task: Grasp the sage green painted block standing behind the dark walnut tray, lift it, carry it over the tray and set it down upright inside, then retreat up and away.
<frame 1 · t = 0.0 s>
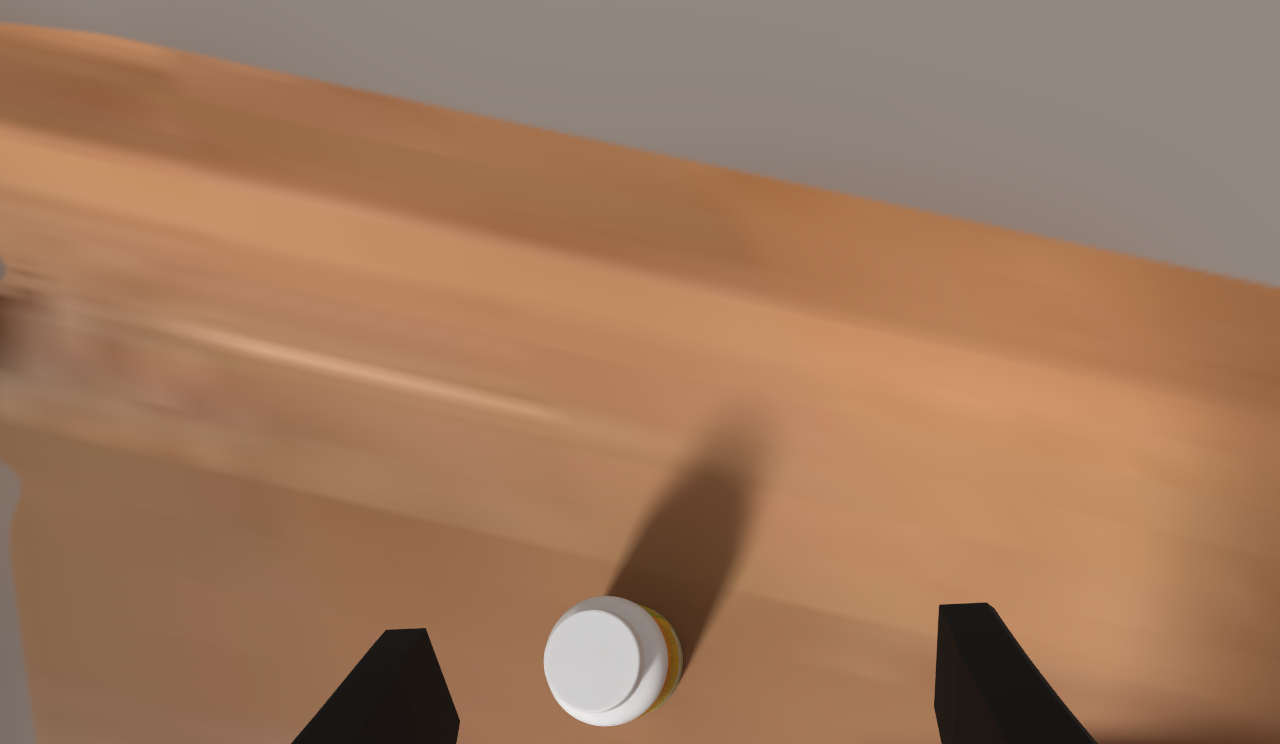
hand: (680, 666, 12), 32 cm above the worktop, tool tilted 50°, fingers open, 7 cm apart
supplement bottle: (631, 659, 43), on the worktop
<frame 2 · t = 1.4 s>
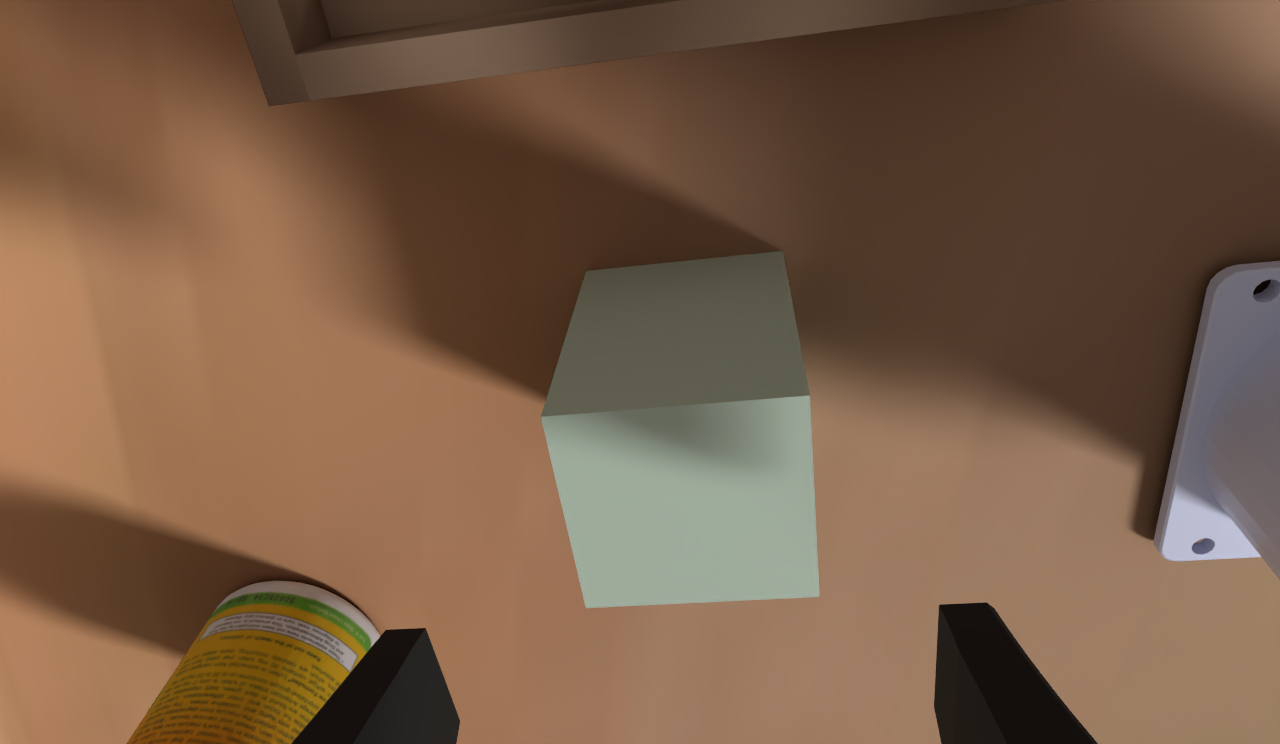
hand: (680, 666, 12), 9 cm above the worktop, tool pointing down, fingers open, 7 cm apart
sage block: (693, 346, 20), on the worktop
supplement bottle: (306, 633, 26), on the worktop
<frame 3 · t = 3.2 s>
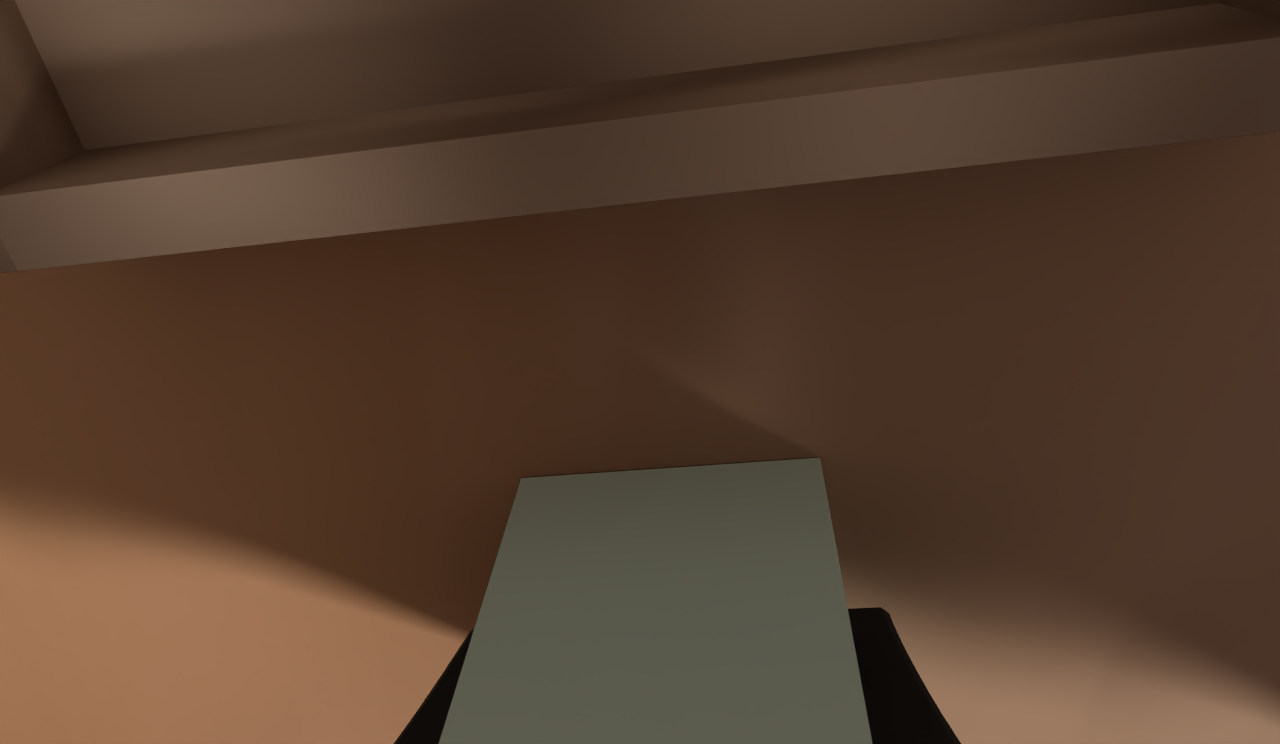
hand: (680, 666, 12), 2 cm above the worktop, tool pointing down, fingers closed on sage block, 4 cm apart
sage block: (684, 579, 14), on the worktop, touching gripper
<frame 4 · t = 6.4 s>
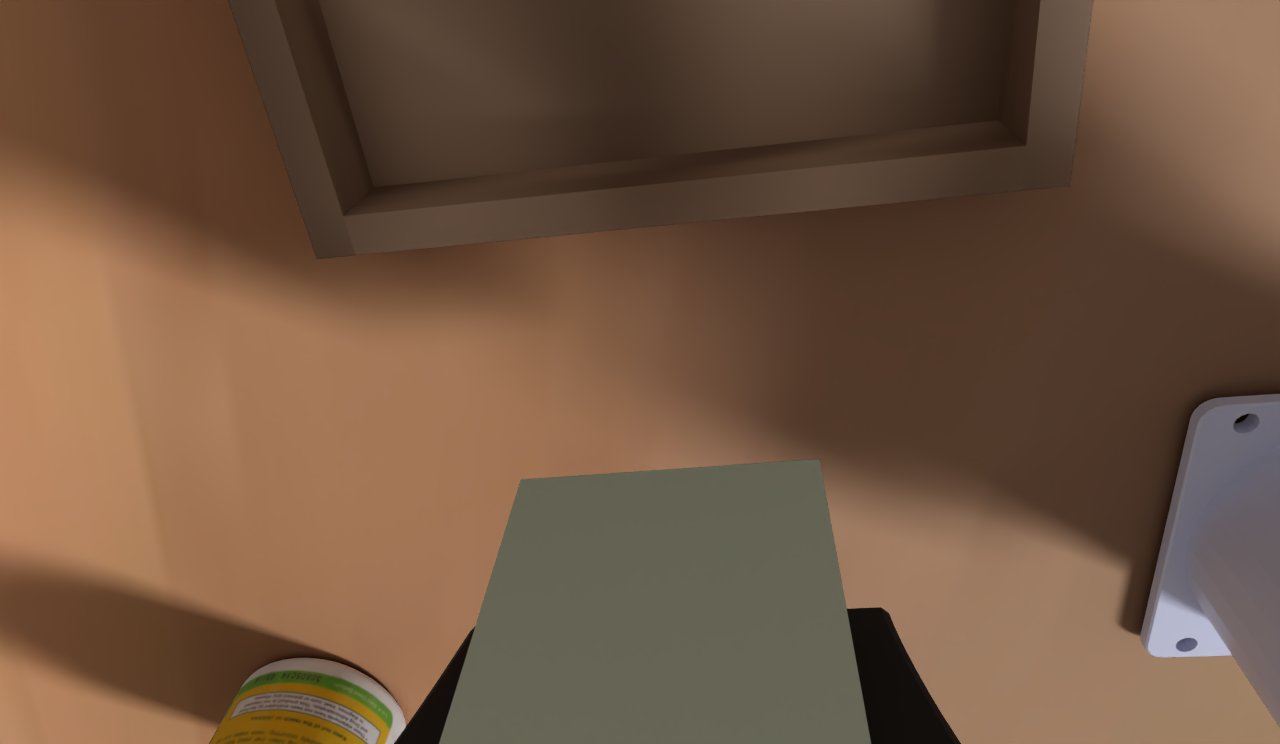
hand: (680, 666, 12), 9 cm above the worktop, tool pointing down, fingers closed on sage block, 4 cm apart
sage block: (683, 580, 14), point 7 cm above the worktop, touching gripper
supplement bottle: (329, 704, 28), on the worktop
when the fingers open (4 cm above the worktop, at t = 9.4 s): sage block drops 1 cm, resting on tray.
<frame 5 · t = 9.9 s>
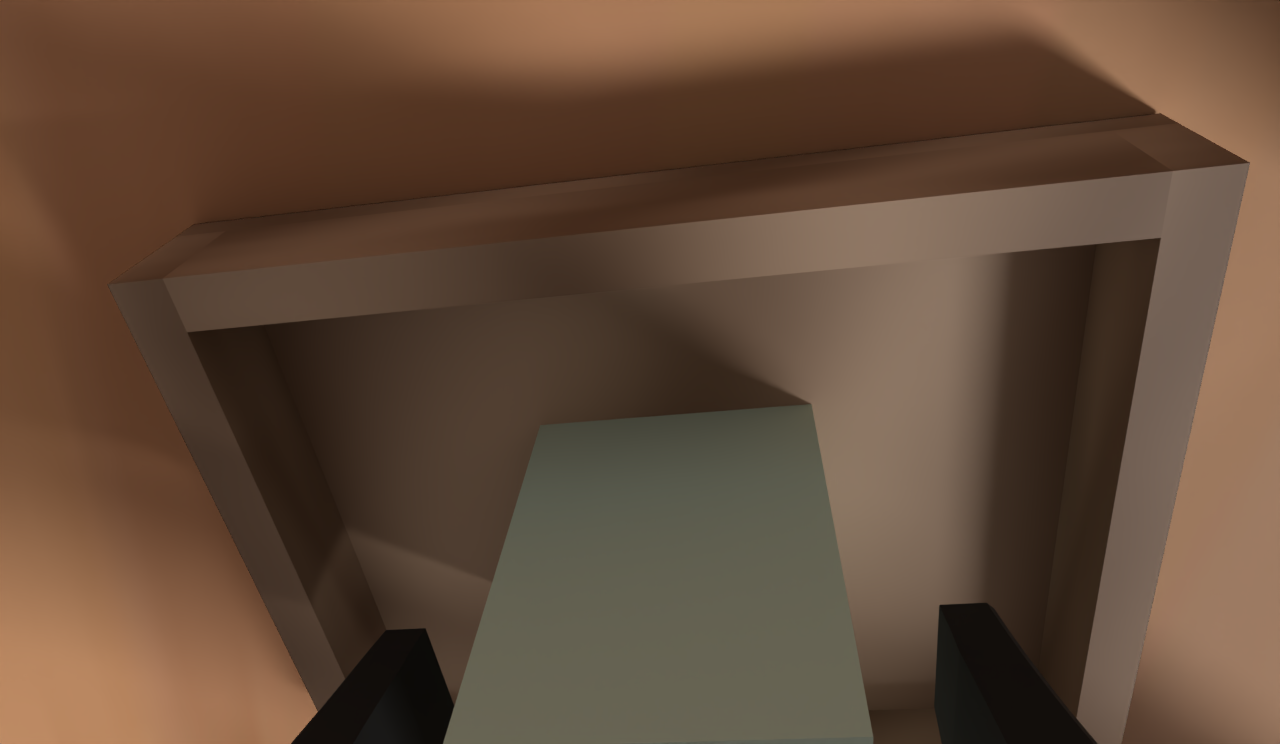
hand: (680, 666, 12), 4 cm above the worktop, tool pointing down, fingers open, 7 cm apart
tray: (687, 499, 15), on the worktop
sage block: (688, 519, 15), resting on tray
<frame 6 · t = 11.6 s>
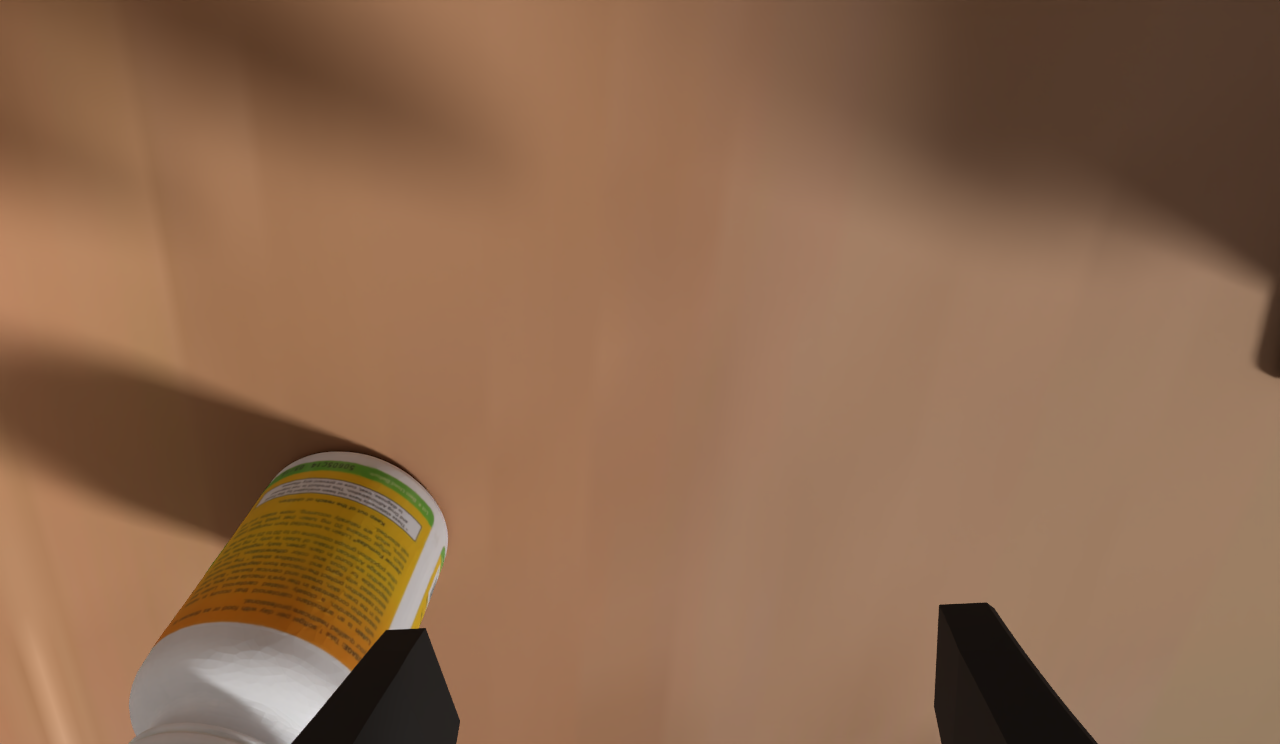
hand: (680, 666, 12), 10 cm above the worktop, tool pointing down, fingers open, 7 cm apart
supplement bottle: (362, 515, 25), on the worktop
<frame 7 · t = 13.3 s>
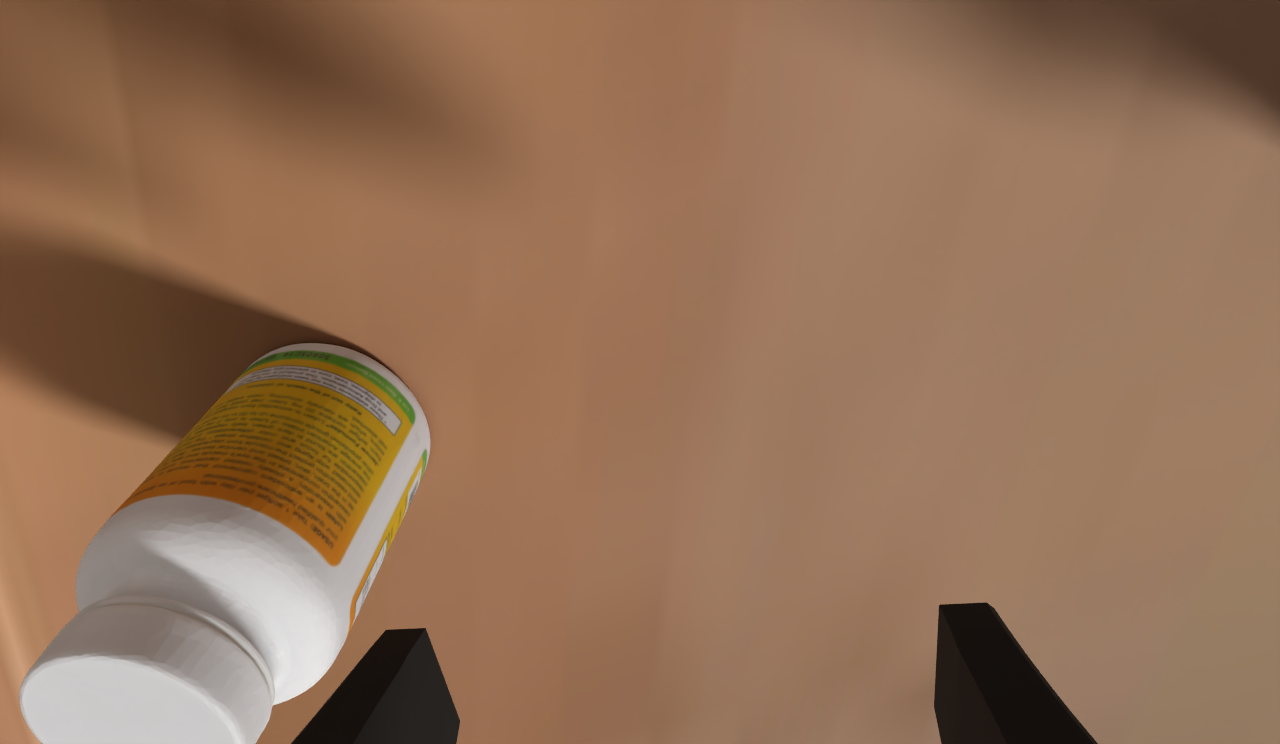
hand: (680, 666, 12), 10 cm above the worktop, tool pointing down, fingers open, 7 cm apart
supplement bottle: (339, 419, 24), on the worktop
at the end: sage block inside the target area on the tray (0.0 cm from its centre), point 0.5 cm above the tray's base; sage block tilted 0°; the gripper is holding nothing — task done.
